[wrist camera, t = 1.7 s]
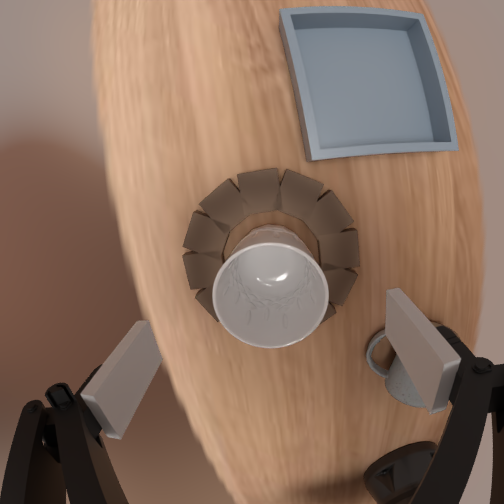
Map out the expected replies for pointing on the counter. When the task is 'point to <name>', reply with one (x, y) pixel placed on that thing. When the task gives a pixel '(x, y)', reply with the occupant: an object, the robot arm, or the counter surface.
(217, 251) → the holder ring
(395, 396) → the ceramic mug
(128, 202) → the counter surface
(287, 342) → the white cup
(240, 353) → the counter surface
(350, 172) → the counter surface
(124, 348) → the robot arm
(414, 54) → the bin
